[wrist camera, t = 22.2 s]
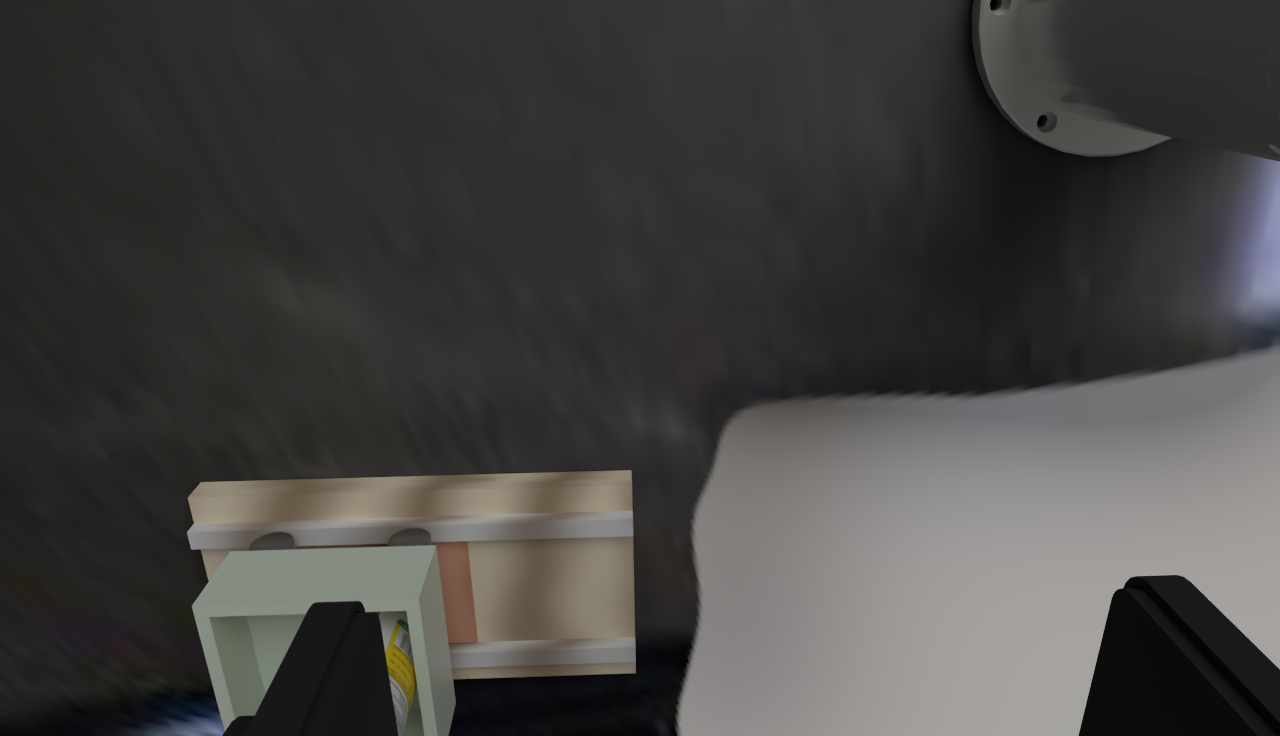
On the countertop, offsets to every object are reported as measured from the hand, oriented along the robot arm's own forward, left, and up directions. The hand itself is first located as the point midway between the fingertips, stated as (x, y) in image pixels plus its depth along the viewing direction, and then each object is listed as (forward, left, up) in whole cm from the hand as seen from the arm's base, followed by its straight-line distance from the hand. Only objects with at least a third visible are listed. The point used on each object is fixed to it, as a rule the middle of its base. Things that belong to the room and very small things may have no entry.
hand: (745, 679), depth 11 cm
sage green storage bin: (+15, +20, -28) cm, 37 cm away
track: (+12, +20, -30) cm, 38 cm away
